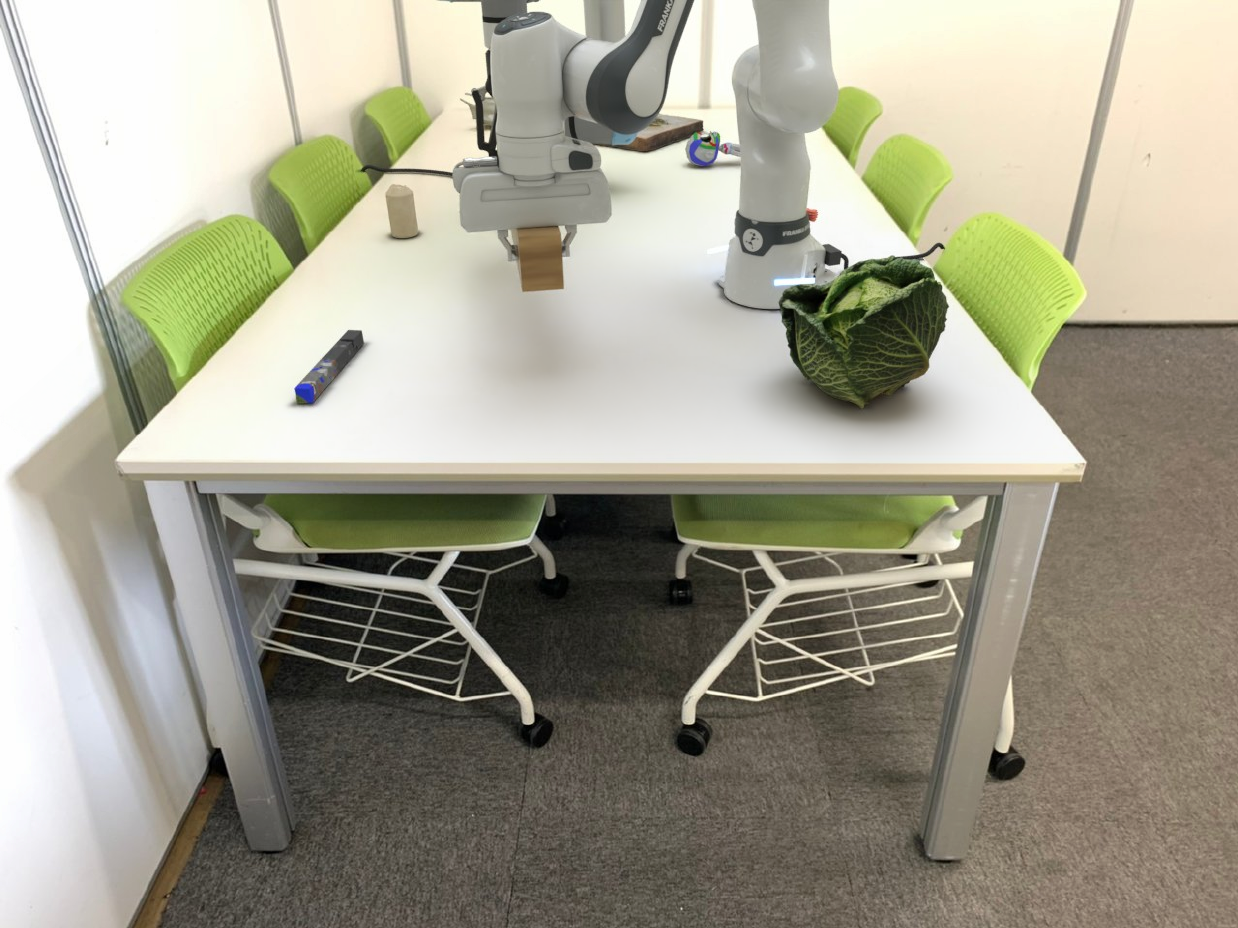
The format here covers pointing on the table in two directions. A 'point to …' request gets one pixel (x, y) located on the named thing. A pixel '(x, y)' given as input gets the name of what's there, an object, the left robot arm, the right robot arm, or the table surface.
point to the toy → (708, 148)
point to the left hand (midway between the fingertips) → (517, 187)
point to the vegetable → (865, 327)
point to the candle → (401, 211)
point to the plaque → (663, 132)
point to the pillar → (328, 367)
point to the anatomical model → (487, 109)
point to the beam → (539, 258)
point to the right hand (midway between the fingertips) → (538, 257)
